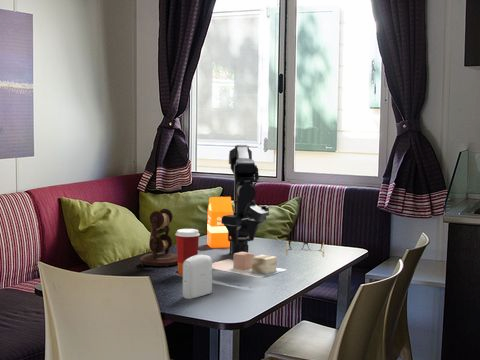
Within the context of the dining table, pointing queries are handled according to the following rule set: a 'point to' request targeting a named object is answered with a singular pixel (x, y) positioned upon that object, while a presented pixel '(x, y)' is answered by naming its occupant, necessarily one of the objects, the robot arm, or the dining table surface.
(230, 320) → the dining table surface
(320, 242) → the eyeglasses
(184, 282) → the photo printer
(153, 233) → the wooden spool stand
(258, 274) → the white board
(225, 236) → the orange juice
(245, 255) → the terracotta block
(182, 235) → the coffee cup
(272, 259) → the birch block
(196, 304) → the dining table surface
